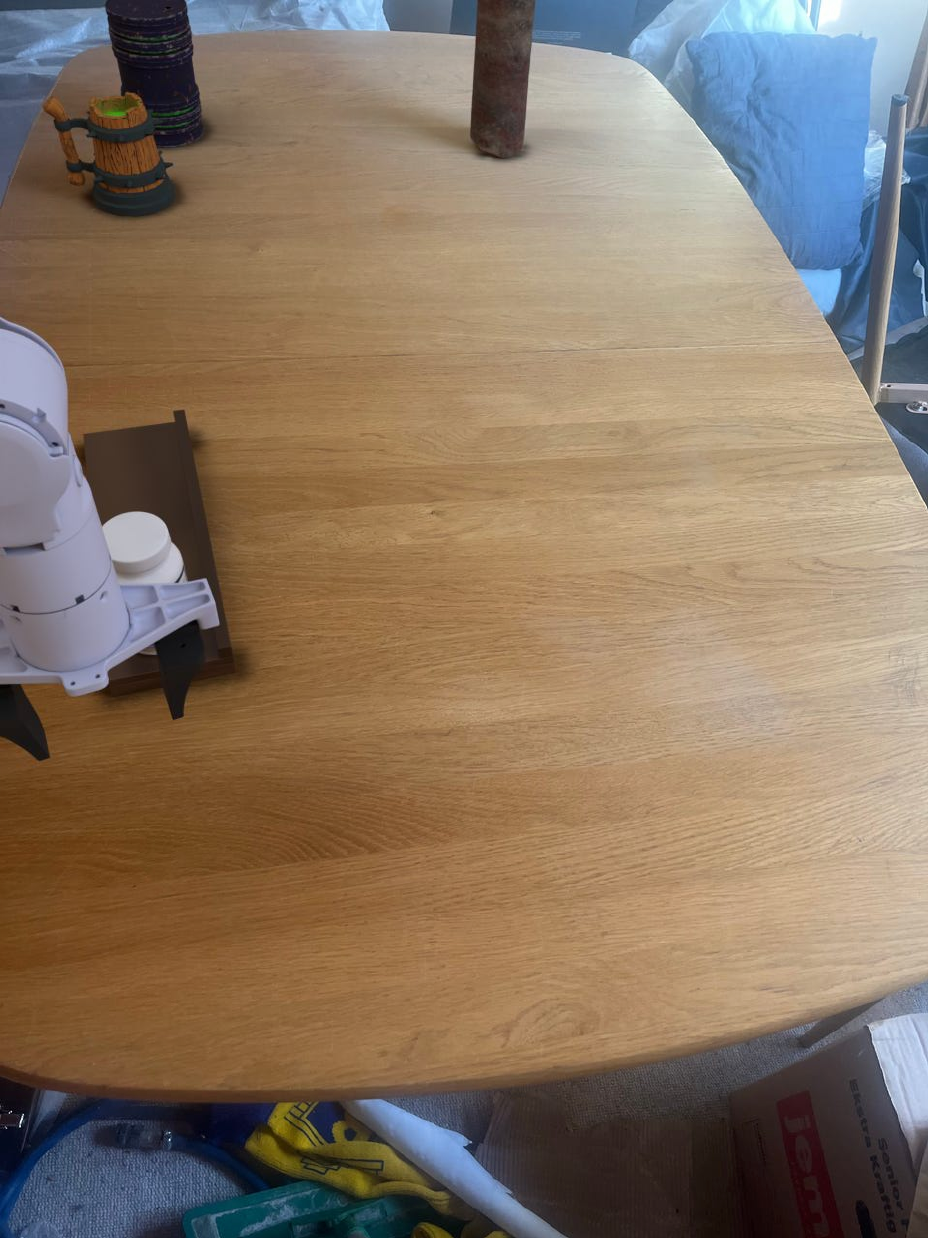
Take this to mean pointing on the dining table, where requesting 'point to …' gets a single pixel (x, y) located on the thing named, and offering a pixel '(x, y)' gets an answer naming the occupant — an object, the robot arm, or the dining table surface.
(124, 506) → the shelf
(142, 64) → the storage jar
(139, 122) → the mug
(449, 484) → the dining table surface
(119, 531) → the pill bottle
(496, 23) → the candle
